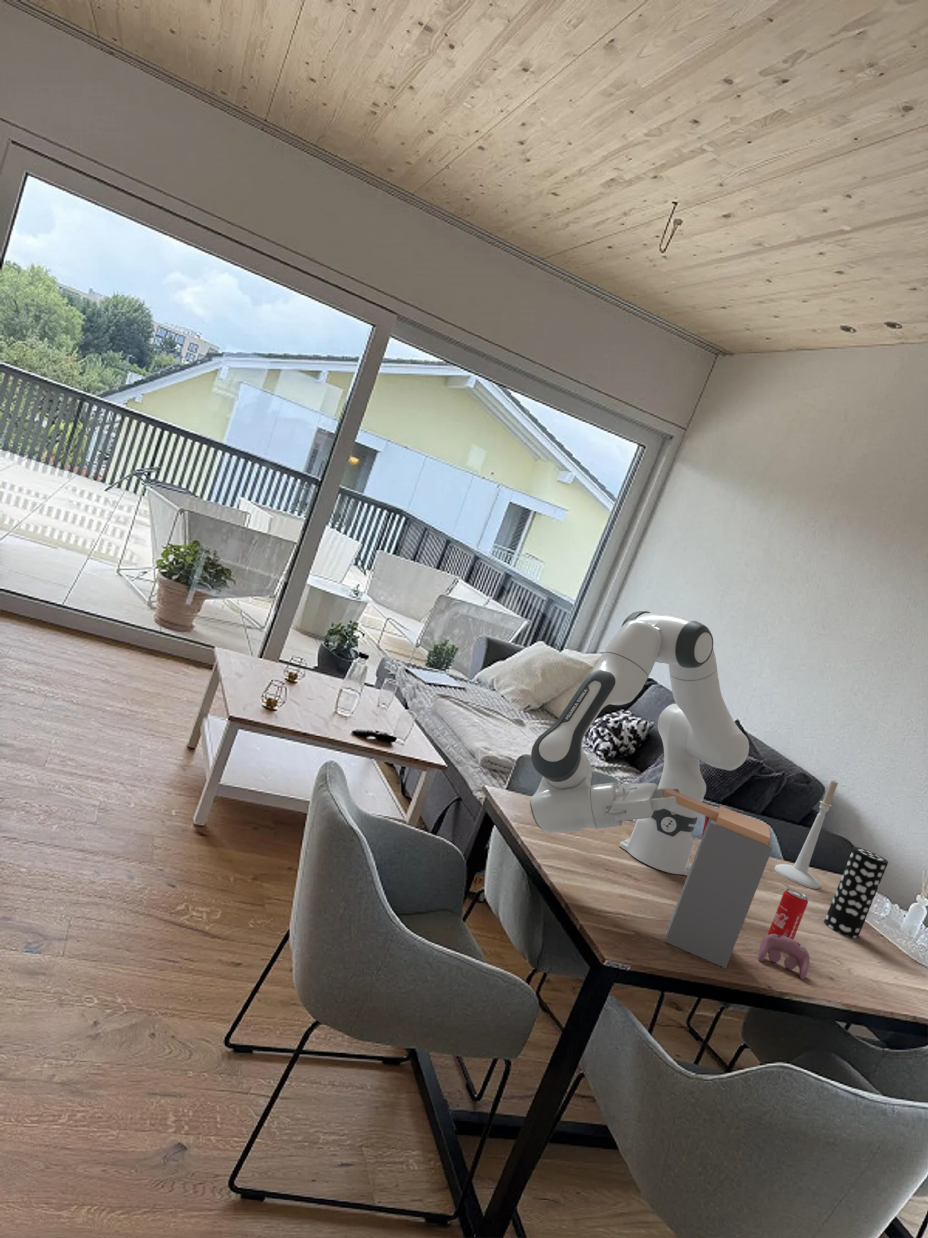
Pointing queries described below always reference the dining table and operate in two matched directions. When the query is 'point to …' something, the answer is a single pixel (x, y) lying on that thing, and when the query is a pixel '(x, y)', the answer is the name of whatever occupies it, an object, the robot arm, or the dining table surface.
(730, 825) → the wooden paddle
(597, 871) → the dining table surface
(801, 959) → the video game controller
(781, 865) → the candlestick
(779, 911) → the beverage can
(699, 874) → the tall box
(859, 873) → the white-spotted black cylinder
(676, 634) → the robot arm
